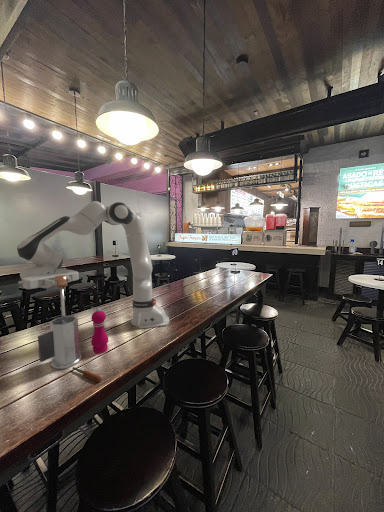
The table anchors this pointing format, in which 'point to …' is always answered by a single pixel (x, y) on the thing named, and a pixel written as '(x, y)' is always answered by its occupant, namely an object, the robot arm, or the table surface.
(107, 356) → the table surface
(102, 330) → the pepper mill
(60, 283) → the plunger
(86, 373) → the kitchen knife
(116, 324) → the table surface
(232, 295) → the table surface
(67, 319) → the press
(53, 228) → the robot arm
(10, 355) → the table surface
